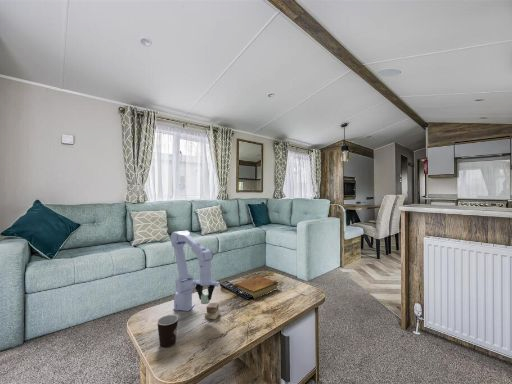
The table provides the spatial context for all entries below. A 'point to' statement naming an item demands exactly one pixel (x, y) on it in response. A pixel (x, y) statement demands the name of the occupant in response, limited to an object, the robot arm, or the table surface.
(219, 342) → the table surface
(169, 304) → the table surface
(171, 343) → the coffee mug
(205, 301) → the pale green short cylinder
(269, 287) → the diary
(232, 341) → the table surface
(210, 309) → the walnut top block
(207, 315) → the oak base block
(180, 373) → the table surface
